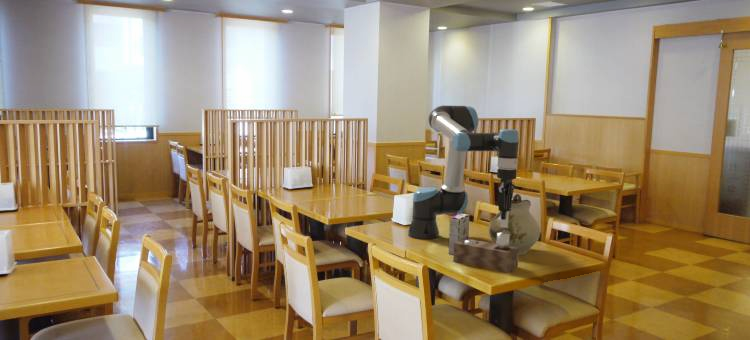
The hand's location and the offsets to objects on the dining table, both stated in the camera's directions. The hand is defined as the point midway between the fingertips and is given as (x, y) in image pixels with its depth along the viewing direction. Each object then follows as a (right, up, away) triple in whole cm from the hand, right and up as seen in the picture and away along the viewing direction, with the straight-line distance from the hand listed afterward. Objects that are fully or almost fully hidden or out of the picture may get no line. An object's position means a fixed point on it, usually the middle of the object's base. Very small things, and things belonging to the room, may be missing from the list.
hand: (503, 226), depth 229 cm
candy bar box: (-15, -14, +24) cm, 31 cm away
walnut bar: (-6, -16, +6) cm, 18 cm away
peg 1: (-12, -14, +10) cm, 21 cm away
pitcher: (+10, -14, +29) cm, 33 cm away
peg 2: (0, -10, +1) cm, 10 cm away
